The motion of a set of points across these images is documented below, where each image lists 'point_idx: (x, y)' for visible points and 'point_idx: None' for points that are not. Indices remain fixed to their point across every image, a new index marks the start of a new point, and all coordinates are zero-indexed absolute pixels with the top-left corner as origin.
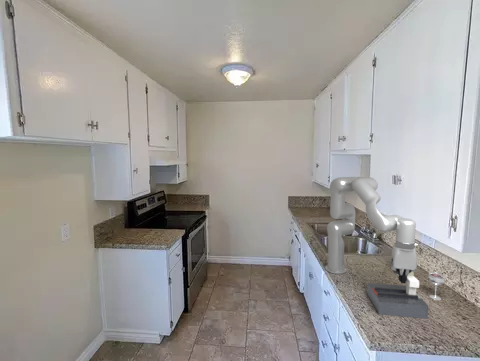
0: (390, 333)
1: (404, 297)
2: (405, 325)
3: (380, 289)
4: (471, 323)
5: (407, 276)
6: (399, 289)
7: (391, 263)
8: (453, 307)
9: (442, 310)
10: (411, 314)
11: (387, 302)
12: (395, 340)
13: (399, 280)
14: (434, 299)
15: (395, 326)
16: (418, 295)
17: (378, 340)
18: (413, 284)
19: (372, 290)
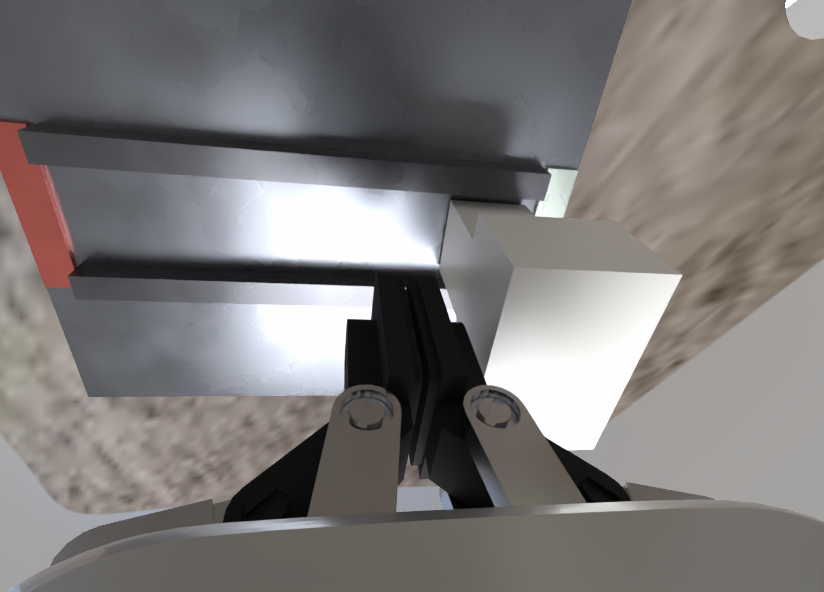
0: (179, 466)
1: None
2: (293, 400)
3: (120, 165)
4: (703, 335)
5: (535, 322)
6: (387, 179)
7: (35, 584)
8: (802, 164)
9: (672, 216)
10: None
11: (166, 395)
12: (192, 499)
13: (345, 349)
14: (790, 24)
15: (226, 416)
16: None
17: (103, 511)
18: None
19: (3, 173)
